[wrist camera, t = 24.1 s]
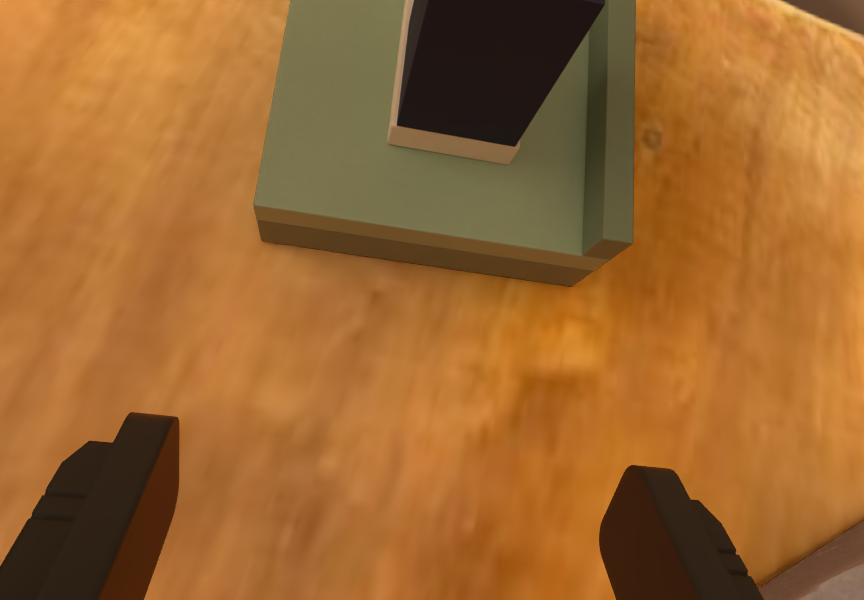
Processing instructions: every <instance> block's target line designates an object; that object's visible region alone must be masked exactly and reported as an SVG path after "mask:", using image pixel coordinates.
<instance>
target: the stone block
mask: <svg viewBox="0 0 864 600" xmlns="http://www.w3.org/2000/svg"><path fill="white" fill-rule="evenodd" d="M758 590H759V592H760V594H761V595H762V597H763V599H764V600H864V520H863V521H861V522H860V523H858V524H857V525H855V526H854V527H852V528H850V529H849V530H847V531H846V532H844V533H843V534H841V535H840V536H838V537H837V538H835V539H834V540H832V541H831V542H829V543H827V544H826V545H824V546H822V547H821V548H819V549H818V550H816V551H815V552H814V553H812V554H810V555H809V556H807V557H806V558H804V559H803V560H801V561H800V562H798V563H797V564H795V565H794V566H792V567H790V568H789V569H787V570H785V571H783V572H782V573H780V574H779V575H778V576H776V577H775V578H773V579H772V580H771V581H770V582H768V583H767V584H766V585H763V586H761V587H759V588H758Z"/></svg>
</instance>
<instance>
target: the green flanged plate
mask: <svg viewBox="0 0 864 600" xmlns="http://www.w3.org/2000/svg"><path fill="white" fill-rule="evenodd" d="M404 2H405V0H290V6H289V11H288V17H287V22H286V28H285V33H284V39H283V44H282V50H281V55H280V61H279V66H278V72H277V77H276V83H275V88H274V94H273V99H272V105H271V110H270V116H269V121H268V127H267V132H266V138H265V143H264V149H263V154H262V160H261V165H260V171H259V176H258V182H257V187H256V193H255V198H254V204H253V205H254V209H255V214H256V219H257V222H258V227H259V232H260V237H261V240H262V241H265V242H272V243H279V244H285V245H292V246H299V247H306V248H313V249H319V250H326V251H333V252H340V253H346V254H353V255H360V256H367V257H374V258H380V259H387V260H394V261H401V262H407V263H414V264H421V265H428V266H435V267H441V268H448V269H455V270H462V271H468V272H475V273H482V274H489V275H496V276H502V277H509V278H516V279H523V280H530V281H536V282H543V283H550V284H557V285H563V286H570V287H571V286H573V285H575V284H576V283H577V282H579V281H580V280H582V279H583V278H584V277H586V276H587V275H589V274H590V273H591V272H593V271H595V270H596V269H598V268H599V267H601V266H602V265H603V264H605V263H606V262H608V261H609V260H610V259H612V258H613V257H615V256H616V255H617V254H619V253H620V252H622V251H623V250H625V249H626V248H627V247H629V246H630V245H632V244H633V201H634V108H635V15H636V0H605V5H604V7H603V9H602V10H601V12H600V13H599V15H598V17H597V18H596V20H595V21H594V23H593V24H592V26H591V28H590V29H589V31H588V32H587V34H586V36H585V37H584V39H583V40H582V42H581V43H580V45H579V47H578V48H577V50H576V51H575V53H574V55H573V56H572V58H571V59H570V61H569V62H568V64H567V66H566V67H565V69H564V70H563V72H562V74H561V75H560V77H559V78H558V80H557V81H556V83H555V85H554V86H553V88H552V89H551V91H550V93H549V94H548V96H547V97H546V99H545V100H544V102H543V104H542V105H541V107H540V108H539V110H538V112H537V113H536V115H535V116H534V118H533V119H532V121H531V123H530V124H529V126H528V127H527V129H526V131H525V132H524V134H523V135H522V137H521V138H520V148H519V150H518V151H517V153H516V154H515V156H514V157H513V159H512V160H511V162H510V164H508V165H506V164H500V163H494V162H489V161H483V160H477V159H471V158H466V157H460V156H454V155H448V154H443V153H437V152H431V151H425V150H420V149H414V148H408V147H402V146H397V145H391V144H388V143H387V137H388V129H389V121H390V113H391V105H392V97H393V90H394V82H395V74H396V66H397V58H398V50H399V42H400V34H401V26H402V18H403V10H404Z"/></svg>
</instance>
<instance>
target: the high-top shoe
mask: <svg viewBox="0 0 864 600" xmlns="http://www.w3.org/2000/svg"><path fill="white" fill-rule="evenodd" d="M604 5H605V0H405V2H404V10H403V18H402V26H401V34H400V42H399V50H398V58H397V66H396V74H395V82H394V90H393V97H392V105H391V113H390V121H389V129H388V137H387V143H388V144H391V145H397V146H402V147H408V148H414V149H420V150H425V151H431V152H437V153H443V154H448V155H454V156H460V157H466V158H471V159H477V160H483V161H489V162H494V163H500V164H506V165H508V164H510V162H511V160H512V159H513V157H514V156H515V154H516V153H517V151H518V150H519V148H520V138H521V137H522V135H523V134H524V132H525V131H526V129H527V127H528V126H529V124H530V123H531V121H532V119H533V118H534V116H535V115H536V113H537V112H538V110H539V108H540V107H541V105H542V104H543V102H544V100H545V99H546V97H547V96H548V94H549V93H550V91H551V89H552V88H553V86H554V85H555V83H556V81H557V80H558V78H559V77H560V75H561V74H562V72H563V70H564V69H565V67H566V66H567V64H568V62H569V61H570V59H571V58H572V56H573V55H574V53H575V51H576V50H577V48H578V47H579V45H580V43H581V42H582V40H583V39H584V37H585V36H586V34H587V32H588V31H589V29H590V28H591V26H592V24H593V23H594V21H595V20H596V18H597V17H598V15H599V13H600V12H601V10H602V9H603V7H604Z"/></svg>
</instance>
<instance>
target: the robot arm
mask: <svg viewBox="0 0 864 600" xmlns="http://www.w3.org/2000/svg"><path fill="white" fill-rule="evenodd" d="M178 489H179V419H178V417H173V416H164V415H154V414H144V413H134V412H131V413H129V414H128V416H127V417H126V419H125V421H124V422H123V424H122V426H121V428H120V430H119V432H118V434H117V436H116V438H115V440H114V442H113V443H108V442H98V441H88V442H87V443H86V444H85V445H83V446H82V447H81V448H80V449H78V450H77V451H76V452H75V453H73V454H72V455H71V456H70V457H68V458H67V459H66V460H65V461H63V462H62V463H61V465H60V467H59V468H58V470H57V472H56V473H55V475H54V477H53V478H52V480H51V482H50V483H49V485H48V487H47V489H46V492H45V495H42V497H41V499H40V500H39V502H38V504H37V505H36V507H35V509H34V510H33V512H32V517H31V519H28V521H27V522H26V524H25V526H24V527H23V529H22V531H21V532H20V534H19V536H18V537H17V539H16V541H15V542H14V544H13V546H12V548H11V549H10V551H9V553H8V554H7V556H6V558H5V559H4V561H3V563H2V564H1V566H0V600H144V598H145V595H146V592H147V589H148V586H149V584H150V581H151V578H152V575H153V572H154V569H155V567H156V564H157V561H158V558H159V555H160V553H161V550H162V547H163V544H164V541H165V538H166V536H167V533H168V530H169V527H170V524H171V521H172V518H173V515H174V511H175V507H176V502H177V496H178ZM599 545H600V552H601V556H602V559H603V562H604V565H605V568H606V571H607V574H608V577H609V580H610V583H611V585H612V588H613V591H614V594H615V597H616V600H764V599H763V597H762V595H761V594H760V592H759V590H758V588H757V586H756V585H755V583H754V581H753V579H752V577H751V576H748V574H747V572H748V570H747V569H746V567H745V565H744V563H743V561H742V560H741V558H740V556H739V555H736V549H735V547H734V545H733V544H732V542H731V540H730V538H729V536H728V535H727V533H726V531H725V529H724V527H723V526H722V524H721V523H720V522H719V521H718V520H717V519H716V518H715V517H714V516H713V515H712V514H711V513H710V512H709V511H708V510H707V509H706V508H705V506H704V505H703V504H702V503H701V502H700V501H699V500H691V499H690V498H689V496H688V494H687V492H686V490H685V488H684V486H683V484H682V482H681V481H680V479H679V477H678V475H677V474H676V473H675V472H674V471H673V470H671V469H666V468H656V467H646V466H636V465H631V466H629V467H628V468H627V469H626V470H625V472H624V474H623V476H622V478H621V480H620V483H619V485H618V487H617V489H616V491H615V494H614V496H613V498H612V500H611V502H610V505H609V507H608V509H607V511H606V513H605V515H604V518H603V520H602V523H601V527H600V534H599Z"/></svg>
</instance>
